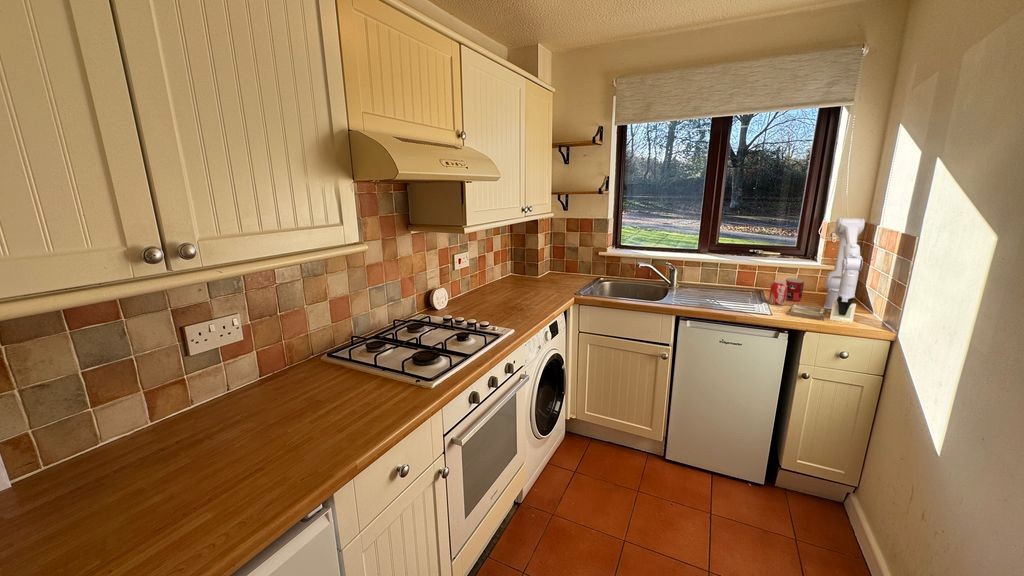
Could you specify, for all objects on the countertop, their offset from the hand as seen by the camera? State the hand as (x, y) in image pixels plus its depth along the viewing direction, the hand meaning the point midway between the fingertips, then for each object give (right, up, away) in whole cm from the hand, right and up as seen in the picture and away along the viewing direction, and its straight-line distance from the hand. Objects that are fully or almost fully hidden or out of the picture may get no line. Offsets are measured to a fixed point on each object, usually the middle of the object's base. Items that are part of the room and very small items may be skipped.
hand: (842, 314), depth 186 cm
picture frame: (0, -3, +1) cm, 3 cm away
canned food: (0, +5, +34) cm, 34 cm away
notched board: (-7, 0, +12) cm, 14 cm away
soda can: (-13, +3, +26) cm, 29 cm away
